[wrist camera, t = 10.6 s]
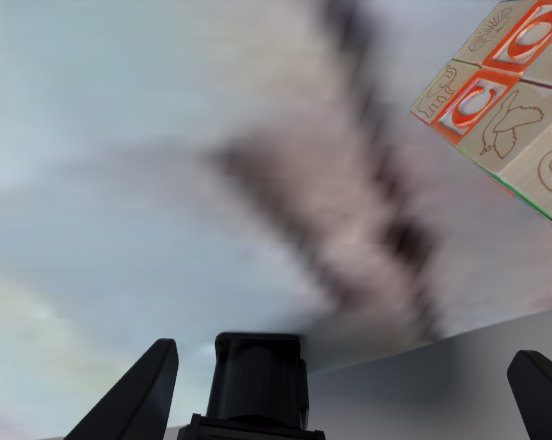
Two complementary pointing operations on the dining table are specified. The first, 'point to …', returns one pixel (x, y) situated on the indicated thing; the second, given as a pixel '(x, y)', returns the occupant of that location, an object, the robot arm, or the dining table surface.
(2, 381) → the dining table surface
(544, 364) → the robot arm
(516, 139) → the stack of blocks
